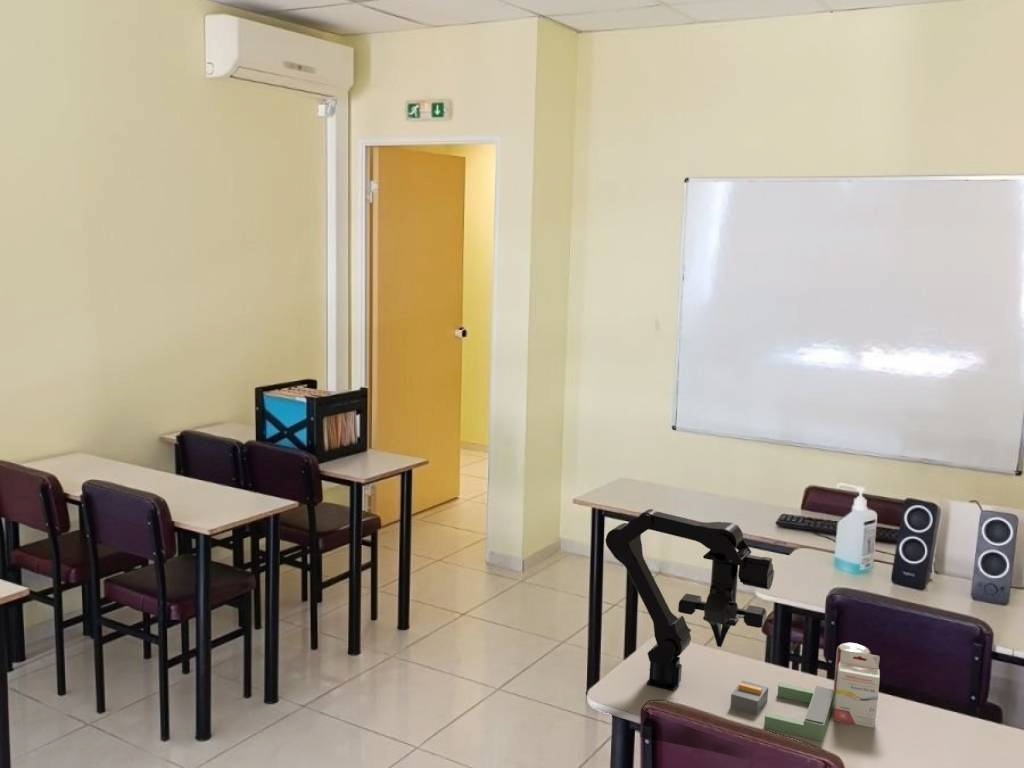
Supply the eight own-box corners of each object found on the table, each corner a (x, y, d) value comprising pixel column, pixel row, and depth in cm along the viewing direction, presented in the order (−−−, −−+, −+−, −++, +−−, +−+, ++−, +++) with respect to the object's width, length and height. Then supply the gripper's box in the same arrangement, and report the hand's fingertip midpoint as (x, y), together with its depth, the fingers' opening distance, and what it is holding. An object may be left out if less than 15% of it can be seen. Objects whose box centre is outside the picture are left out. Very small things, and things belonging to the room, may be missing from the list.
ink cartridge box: (833, 721, 210) (839, 657, 208) (833, 710, 215) (839, 648, 212) (875, 728, 207) (881, 664, 205) (874, 718, 212) (880, 654, 210)
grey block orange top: (730, 708, 215) (731, 689, 214) (741, 694, 221) (742, 676, 221) (757, 716, 212) (758, 697, 211) (767, 701, 218) (768, 683, 218)
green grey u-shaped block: (764, 727, 206) (765, 710, 206) (778, 692, 222) (780, 677, 222) (822, 741, 201) (823, 724, 201) (833, 704, 217) (834, 688, 217)
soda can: (868, 708, 216) (873, 657, 215) (835, 703, 218) (839, 653, 216) (863, 693, 223) (868, 644, 222) (831, 689, 225) (835, 640, 223)
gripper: (673, 583, 212) (669, 651, 214) (759, 599, 204) (754, 669, 207) (686, 568, 222) (682, 633, 224) (769, 583, 214) (764, 649, 217)
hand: (719, 646), depth 218 cm, fingers closed
